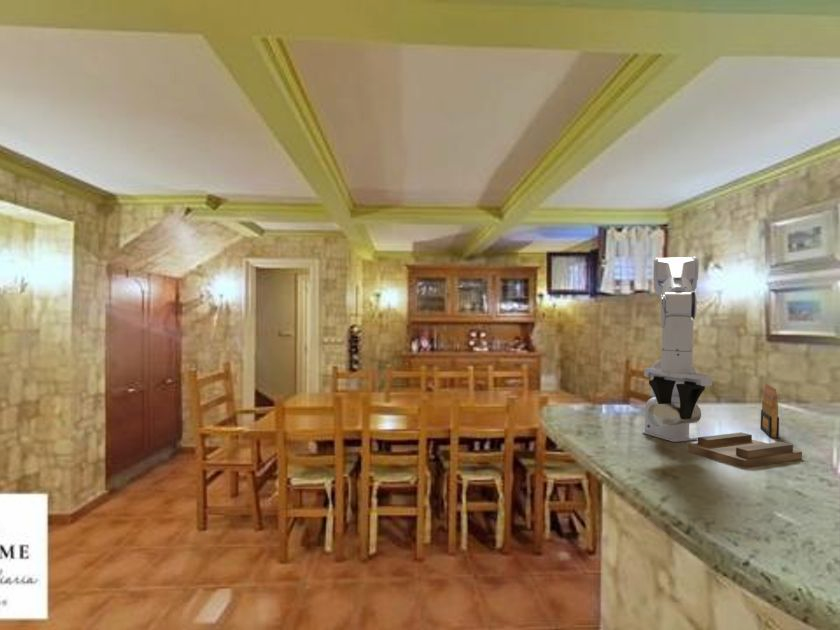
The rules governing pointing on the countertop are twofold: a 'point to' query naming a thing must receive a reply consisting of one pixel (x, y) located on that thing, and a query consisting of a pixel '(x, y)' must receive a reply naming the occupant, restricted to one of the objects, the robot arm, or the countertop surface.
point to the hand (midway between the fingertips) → (675, 416)
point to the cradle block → (744, 450)
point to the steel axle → (670, 414)
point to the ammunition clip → (770, 413)
